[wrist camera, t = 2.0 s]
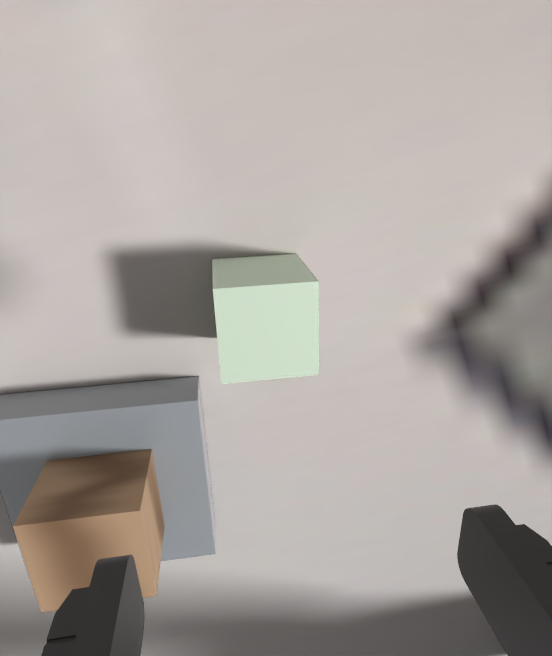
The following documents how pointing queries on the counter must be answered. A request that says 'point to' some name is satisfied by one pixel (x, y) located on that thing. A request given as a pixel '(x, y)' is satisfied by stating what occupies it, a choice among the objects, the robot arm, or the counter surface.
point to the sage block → (265, 318)
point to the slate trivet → (117, 447)
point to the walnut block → (90, 522)
